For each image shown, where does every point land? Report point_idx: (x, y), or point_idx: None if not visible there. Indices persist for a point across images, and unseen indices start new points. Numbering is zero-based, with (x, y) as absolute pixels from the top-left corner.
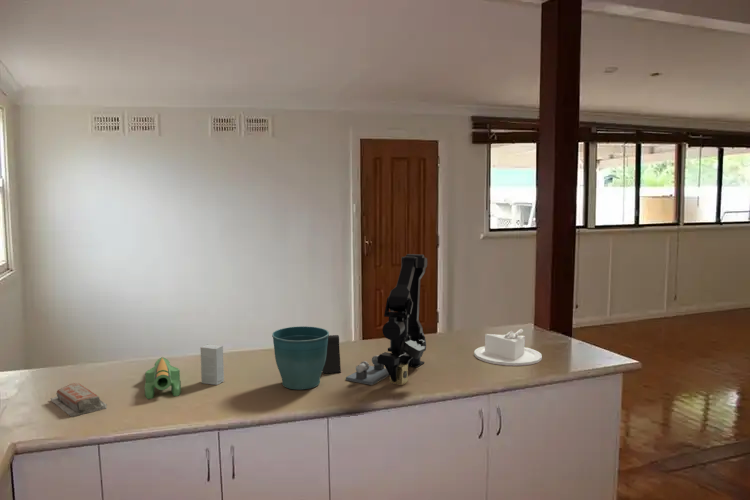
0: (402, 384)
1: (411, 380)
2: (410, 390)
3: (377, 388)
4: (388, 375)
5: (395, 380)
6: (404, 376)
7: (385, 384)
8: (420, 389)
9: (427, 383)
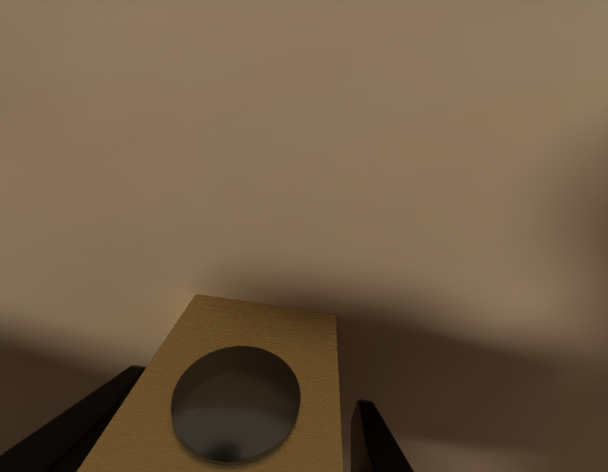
0: (325, 316)
1: (131, 269)
2: (511, 168)
3: (500, 463)
4: None
5: (380, 417)
6: (273, 377)
7: None
8: (433, 30)
9: (105, 18)
